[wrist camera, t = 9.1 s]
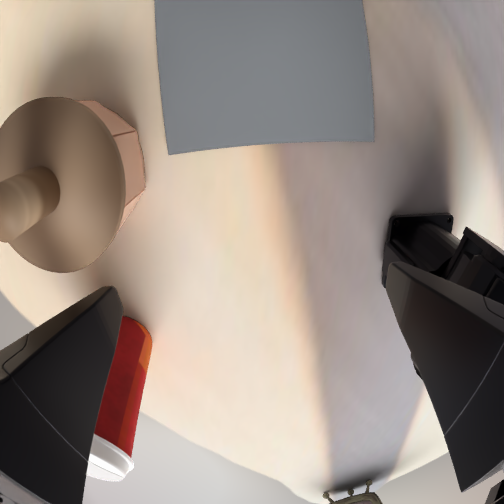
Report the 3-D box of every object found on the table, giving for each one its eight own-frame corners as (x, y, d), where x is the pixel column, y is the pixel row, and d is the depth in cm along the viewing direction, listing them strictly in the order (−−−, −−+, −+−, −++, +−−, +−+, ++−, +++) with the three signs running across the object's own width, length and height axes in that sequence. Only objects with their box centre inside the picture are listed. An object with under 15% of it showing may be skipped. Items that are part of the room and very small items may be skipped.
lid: (110, 72, 12) (63, 62, 8) (144, 259, 17) (117, 307, 13) (-17, 129, 12) (-65, 143, 8) (20, 271, 17) (-15, 307, 13)
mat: (352, -30, 13) (355, -33, 12) (370, 140, 19) (374, 141, 18) (156, -23, 13) (154, -26, 12) (170, 153, 19) (168, 155, 18)
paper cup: (77, 318, 25) (14, 430, 13) (132, 295, 24) (70, 434, 11) (122, 370, 28) (86, 481, 16) (178, 355, 27) (154, 487, 15)
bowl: (134, 90, 17) (103, 85, 12) (155, 224, 21) (134, 255, 17) (28, 126, 17) (-12, 135, 12) (53, 238, 21) (21, 266, 17)
